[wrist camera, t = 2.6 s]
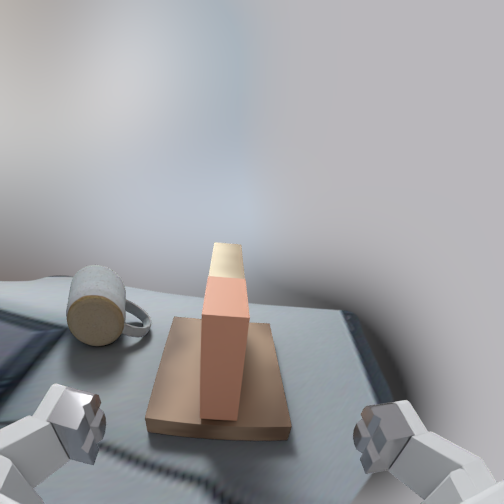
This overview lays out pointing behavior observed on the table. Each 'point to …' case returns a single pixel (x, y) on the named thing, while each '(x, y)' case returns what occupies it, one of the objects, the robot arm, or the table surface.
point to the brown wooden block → (188, 377)
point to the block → (223, 347)
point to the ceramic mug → (101, 307)
